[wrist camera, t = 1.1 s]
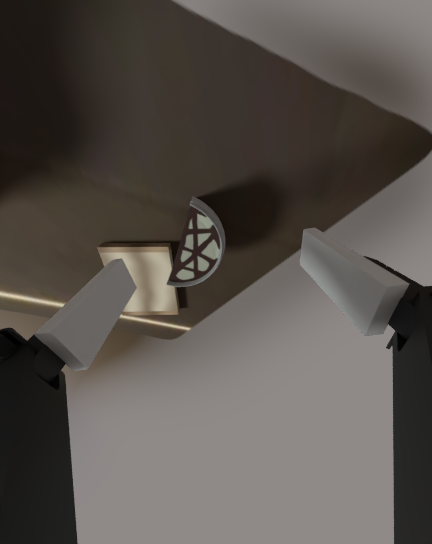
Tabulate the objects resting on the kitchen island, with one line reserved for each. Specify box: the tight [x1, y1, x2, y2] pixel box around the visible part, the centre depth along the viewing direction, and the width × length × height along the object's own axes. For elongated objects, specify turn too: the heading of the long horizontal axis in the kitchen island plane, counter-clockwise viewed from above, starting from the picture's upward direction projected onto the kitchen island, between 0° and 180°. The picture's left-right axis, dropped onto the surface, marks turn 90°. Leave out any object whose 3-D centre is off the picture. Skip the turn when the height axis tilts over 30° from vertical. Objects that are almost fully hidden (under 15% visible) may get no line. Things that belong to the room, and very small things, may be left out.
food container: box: [166, 197, 225, 287], centre depth 26 cm, size 12×6×10 cm, turn 159°
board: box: [97, 243, 180, 315], centre depth 34 cm, size 12×16×2 cm
